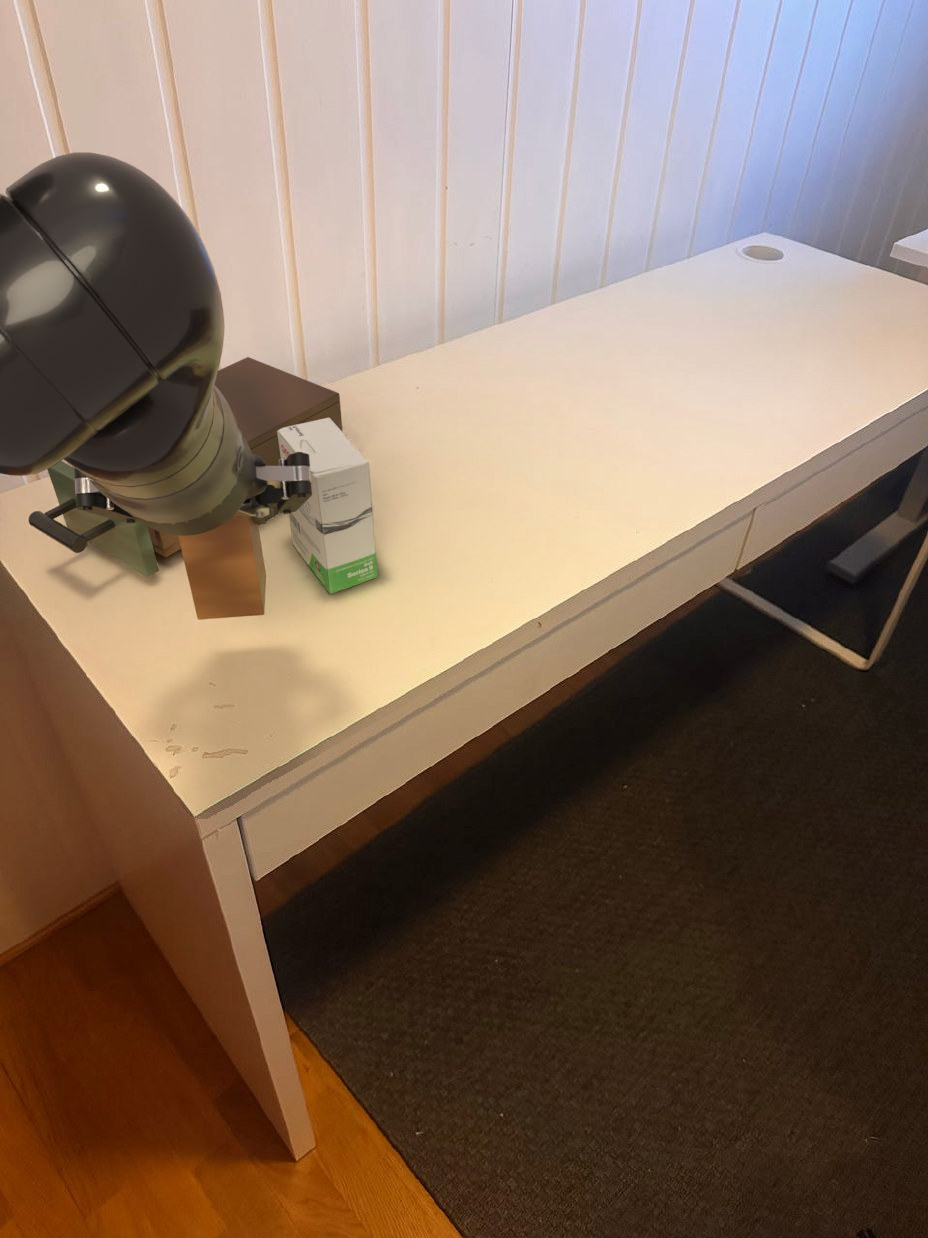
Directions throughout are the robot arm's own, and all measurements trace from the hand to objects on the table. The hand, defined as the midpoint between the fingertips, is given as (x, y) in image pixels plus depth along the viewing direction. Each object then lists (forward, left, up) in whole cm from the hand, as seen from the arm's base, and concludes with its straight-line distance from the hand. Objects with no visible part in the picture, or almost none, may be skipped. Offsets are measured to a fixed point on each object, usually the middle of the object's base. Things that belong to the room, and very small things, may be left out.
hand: (220, 511), depth 62 cm
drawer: (-9, +16, -12) cm, 22 cm away
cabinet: (-1, +25, -13) cm, 28 cm away
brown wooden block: (0, -2, -6) cm, 6 cm away
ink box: (+7, +11, -13) cm, 18 cm away
